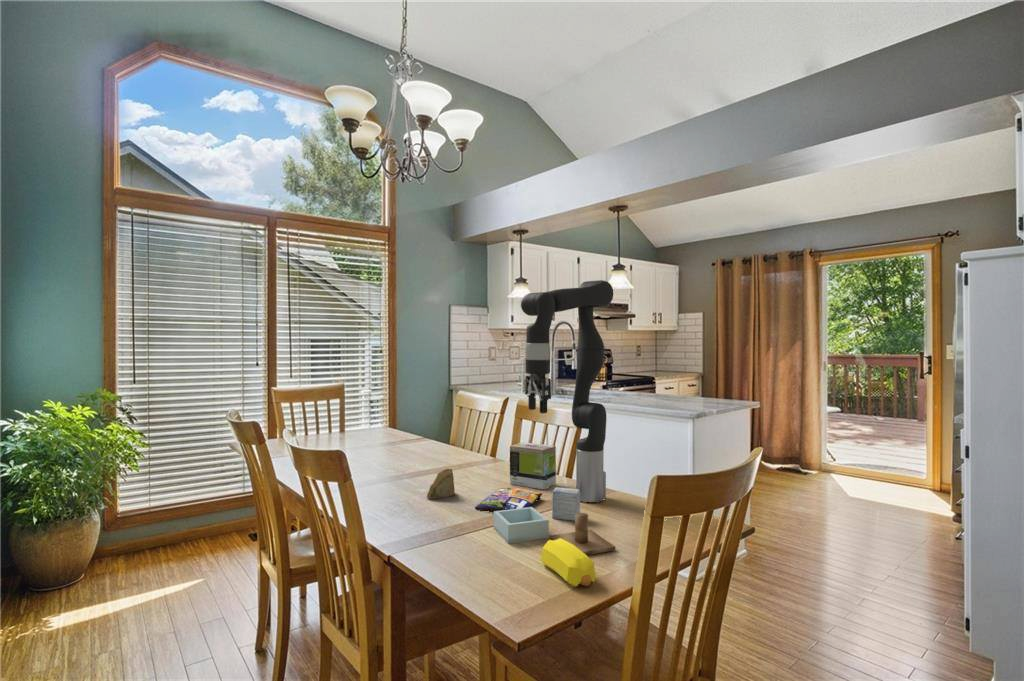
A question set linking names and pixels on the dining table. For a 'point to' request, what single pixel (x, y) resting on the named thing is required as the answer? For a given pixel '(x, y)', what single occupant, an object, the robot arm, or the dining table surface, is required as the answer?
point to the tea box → (533, 465)
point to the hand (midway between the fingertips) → (537, 411)
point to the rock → (442, 485)
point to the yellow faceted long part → (568, 562)
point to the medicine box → (565, 503)
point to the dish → (521, 525)
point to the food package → (508, 499)
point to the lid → (585, 537)
